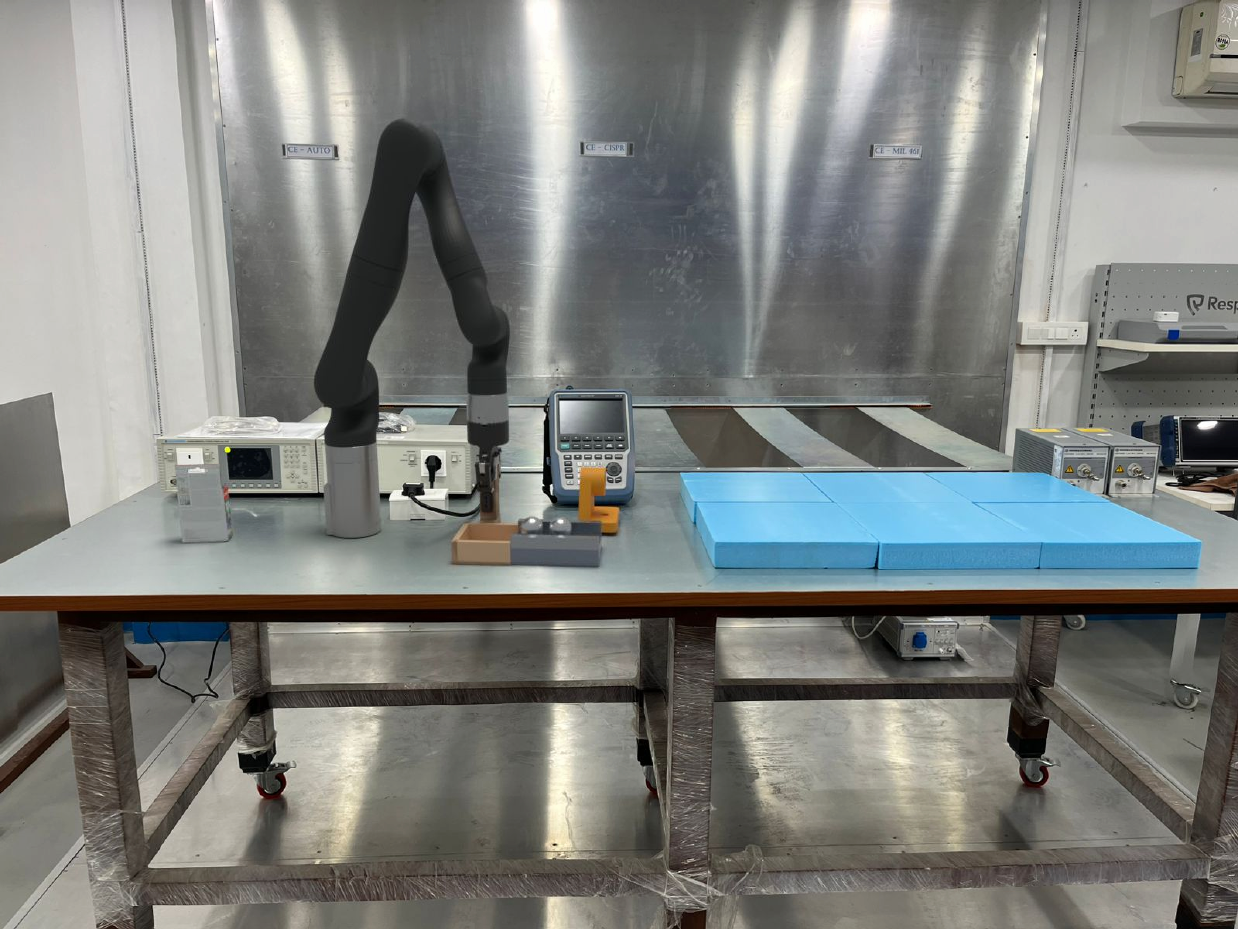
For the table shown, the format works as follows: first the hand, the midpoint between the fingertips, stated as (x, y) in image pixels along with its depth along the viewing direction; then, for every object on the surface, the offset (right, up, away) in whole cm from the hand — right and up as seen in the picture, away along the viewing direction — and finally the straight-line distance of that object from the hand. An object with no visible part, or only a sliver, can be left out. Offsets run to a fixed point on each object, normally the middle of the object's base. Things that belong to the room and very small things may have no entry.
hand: (489, 507), depth 156 cm
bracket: (+20, -4, +9) cm, 22 cm away
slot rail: (+13, -8, -8) cm, 17 cm away
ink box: (-51, -6, -2) cm, 52 cm away
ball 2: (+14, -5, -8) cm, 17 cm away
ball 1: (+9, -5, -8) cm, 13 cm away
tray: (+1, -8, -7) cm, 11 cm away
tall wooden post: (0, -6, +1) cm, 6 cm away
